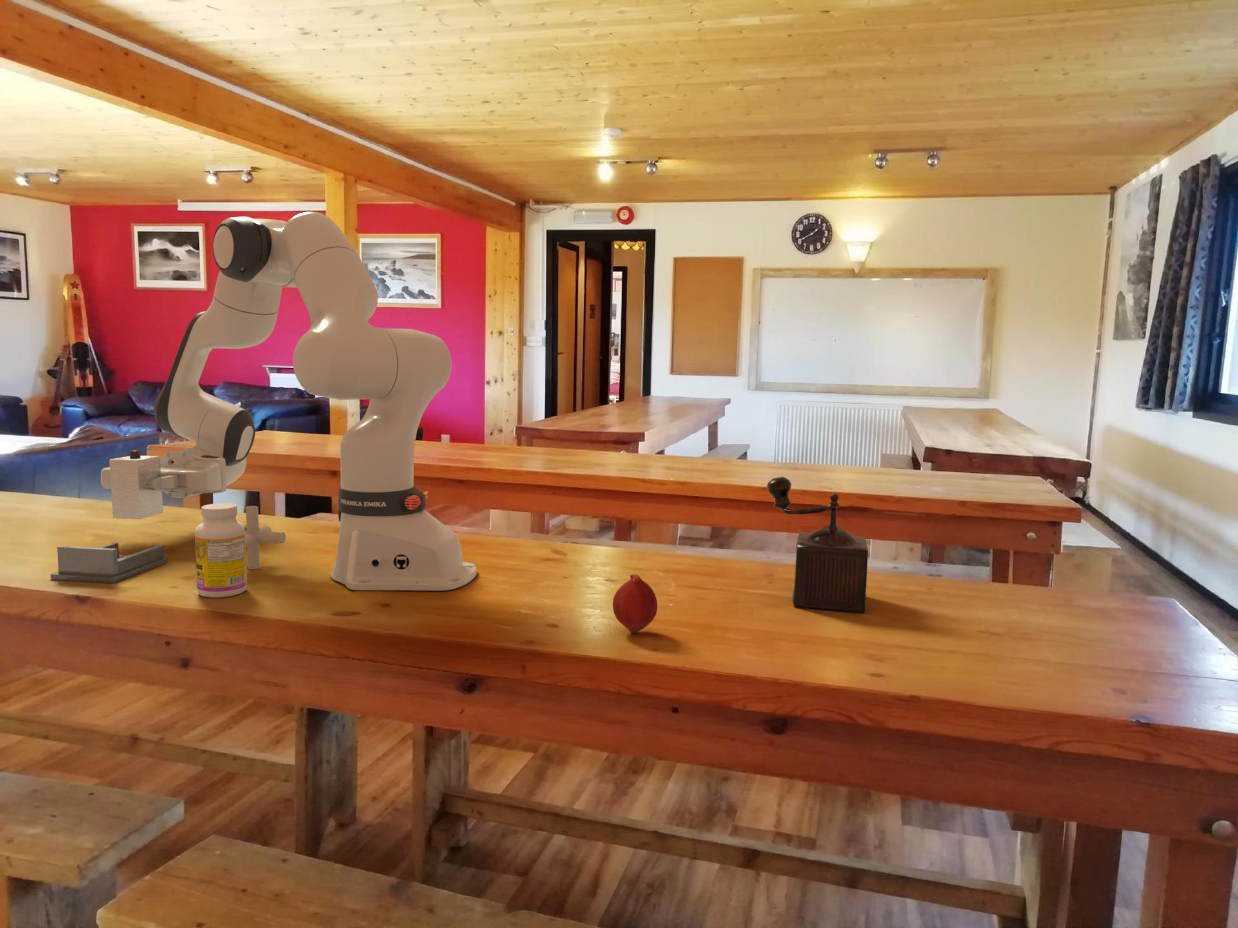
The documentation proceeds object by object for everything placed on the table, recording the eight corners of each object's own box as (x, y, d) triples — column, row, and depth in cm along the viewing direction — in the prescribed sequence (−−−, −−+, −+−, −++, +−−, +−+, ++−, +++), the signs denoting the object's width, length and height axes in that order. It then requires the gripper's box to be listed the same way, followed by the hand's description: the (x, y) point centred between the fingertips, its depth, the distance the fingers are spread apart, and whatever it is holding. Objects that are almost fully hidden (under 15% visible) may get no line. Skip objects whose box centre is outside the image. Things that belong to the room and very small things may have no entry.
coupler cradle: (167, 562, 142) (166, 533, 141) (112, 583, 129) (110, 551, 129) (110, 558, 143) (109, 530, 142) (50, 579, 130) (49, 548, 130)
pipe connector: (271, 576, 135) (269, 513, 134) (208, 574, 135) (205, 511, 134) (296, 561, 145) (295, 502, 144) (237, 559, 145) (235, 500, 144)
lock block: (163, 512, 152) (159, 449, 150) (140, 519, 146) (136, 453, 144) (136, 511, 152) (132, 448, 151) (113, 518, 146) (108, 452, 145)
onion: (631, 622, 118) (632, 565, 117) (665, 632, 114) (667, 573, 113) (603, 632, 113) (604, 573, 112) (637, 643, 110) (639, 581, 109)
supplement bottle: (200, 587, 128) (197, 502, 127) (249, 585, 130) (246, 501, 129) (193, 600, 122) (190, 510, 120) (244, 597, 124) (241, 509, 122)
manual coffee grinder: (862, 594, 135) (870, 480, 133) (866, 614, 125) (874, 491, 122) (762, 585, 139) (767, 474, 136) (757, 604, 128) (763, 484, 126)
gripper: (129, 455, 162) (75, 464, 148) (233, 457, 159) (187, 467, 146) (131, 488, 163) (78, 500, 149) (234, 491, 160) (189, 504, 147)
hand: (133, 484), depth 147 cm, fingers closed on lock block, 5 cm apart
